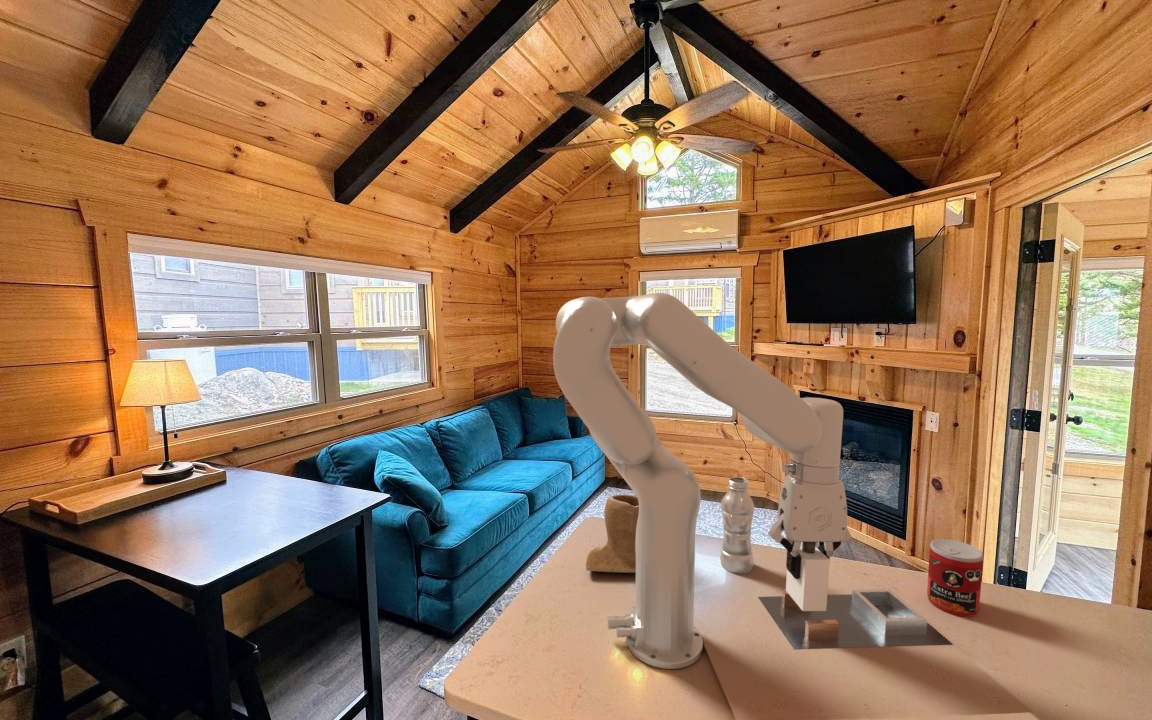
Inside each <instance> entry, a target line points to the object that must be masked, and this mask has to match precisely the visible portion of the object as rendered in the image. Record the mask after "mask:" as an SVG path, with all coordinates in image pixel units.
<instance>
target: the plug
mask: <svg viewBox="0 0 1152 720" xmlns="http://www.w3.org/2000/svg"><path fill="white" fill-rule="evenodd" d="M816 544H817V542H801V546H800V550H799V556H800V557H801V568H800V578H799V579H795V578H794V577H793V576H792V574H791V573H790V572H789V571H788V570H787V569H786V578H785V591H787V593H788V594H789V595H790V596H791V597H792V599H793V600H794V601H795V602H796V604H797V605H798V606H799V607H800V608H801V610H802V611H826V606H827V595H828V589H829V577H830V574H829V573H830V559H831V558H830V559H829V558H828V557H826V556H825V555H824V554H823V553H822V552H821V551H820V550H819V549H818V547H817V546H816Z"/></svg>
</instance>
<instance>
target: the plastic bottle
mask: <svg viewBox="0 0 1152 720" xmlns="http://www.w3.org/2000/svg"><path fill="white" fill-rule="evenodd" d="M727 487H728V489H729V490H728V491H727V492H726V493H725V495H724V496H723V497H722V499H721V503H720V506H721V514H722V519H723V520H722V521H723V522H722V523H723V524H722V525H723V538H722V547H721V550H720V556H719V557H720V558H719V559H720V564H721V567H722V569H724V570H725V571H727V572H730V573H733V574H738V575H744V574H749V573H750V572H752V571H753V567H754V555H753V552H752V539H751V537H752V536H751V535H752V523H753V517H754V511H755V504H754V500H753V499H752V498H751V496H750V494H749V493H748V490H749V481H748V479H747V478H744V477H739V476H738V477H737V476H734V477H730V478H729V480H728V486H727Z"/></svg>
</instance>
